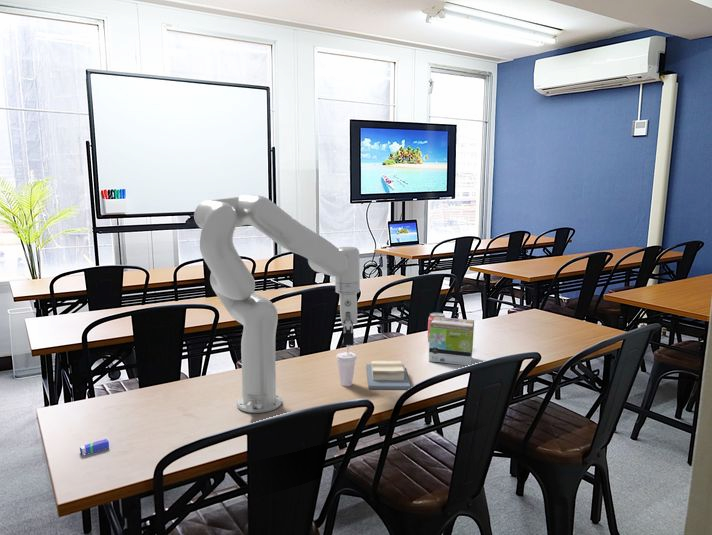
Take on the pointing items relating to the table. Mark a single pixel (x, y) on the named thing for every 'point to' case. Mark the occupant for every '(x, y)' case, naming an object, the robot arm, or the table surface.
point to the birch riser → (387, 370)
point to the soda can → (431, 321)
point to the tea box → (451, 340)
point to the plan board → (387, 381)
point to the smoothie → (346, 367)
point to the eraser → (94, 446)
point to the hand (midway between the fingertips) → (348, 340)
